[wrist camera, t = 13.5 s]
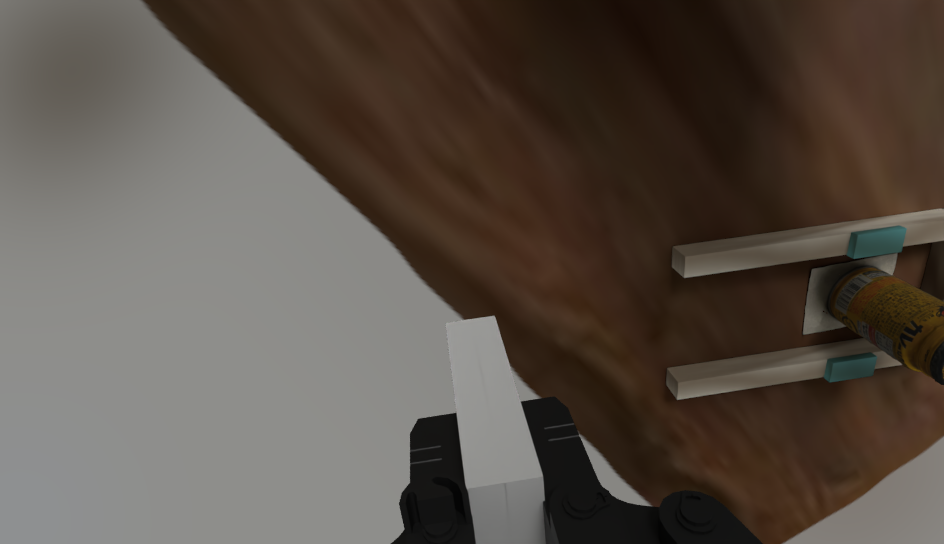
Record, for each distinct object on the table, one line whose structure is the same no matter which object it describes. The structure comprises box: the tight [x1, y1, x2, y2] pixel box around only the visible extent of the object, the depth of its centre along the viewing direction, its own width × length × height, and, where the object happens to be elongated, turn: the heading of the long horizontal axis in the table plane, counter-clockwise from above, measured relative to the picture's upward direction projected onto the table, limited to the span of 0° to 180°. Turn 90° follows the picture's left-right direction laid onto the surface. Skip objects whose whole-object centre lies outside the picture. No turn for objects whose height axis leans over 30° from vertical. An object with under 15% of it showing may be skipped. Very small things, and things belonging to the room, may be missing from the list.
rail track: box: [666, 208, 944, 400], centre depth 51 cm, size 15×27×3 cm, turn 96°
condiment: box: [803, 253, 944, 385], centre depth 48 cm, size 7×8×12 cm
